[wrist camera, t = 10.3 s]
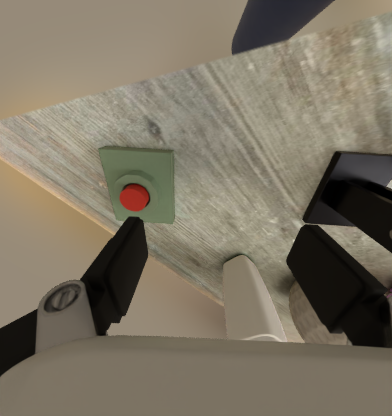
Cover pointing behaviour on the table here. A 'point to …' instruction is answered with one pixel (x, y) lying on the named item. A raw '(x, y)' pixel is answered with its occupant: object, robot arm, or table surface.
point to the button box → (141, 180)
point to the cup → (249, 304)
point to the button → (134, 197)
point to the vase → (310, 320)
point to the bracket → (356, 195)
